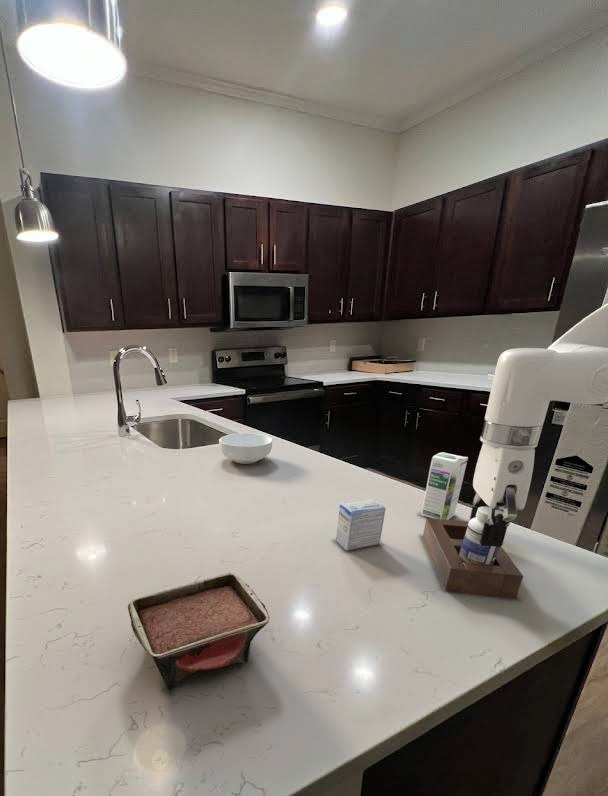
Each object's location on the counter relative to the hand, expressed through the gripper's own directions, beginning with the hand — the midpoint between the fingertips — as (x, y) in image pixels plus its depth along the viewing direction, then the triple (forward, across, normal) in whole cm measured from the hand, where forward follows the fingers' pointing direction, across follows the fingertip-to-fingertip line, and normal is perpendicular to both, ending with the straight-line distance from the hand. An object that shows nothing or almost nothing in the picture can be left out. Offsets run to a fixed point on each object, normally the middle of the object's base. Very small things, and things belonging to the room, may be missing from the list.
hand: (484, 535), depth 72 cm
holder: (+8, +4, +1) cm, 9 cm away
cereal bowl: (+8, +56, +52) cm, 77 cm away
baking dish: (+8, -27, +44) cm, 52 cm away
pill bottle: (+5, 0, 0) cm, 5 cm away
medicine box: (+8, +8, +20) cm, 23 cm away
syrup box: (+9, +25, +1) cm, 27 cm away
